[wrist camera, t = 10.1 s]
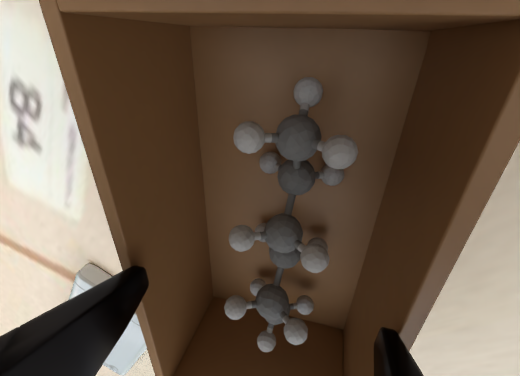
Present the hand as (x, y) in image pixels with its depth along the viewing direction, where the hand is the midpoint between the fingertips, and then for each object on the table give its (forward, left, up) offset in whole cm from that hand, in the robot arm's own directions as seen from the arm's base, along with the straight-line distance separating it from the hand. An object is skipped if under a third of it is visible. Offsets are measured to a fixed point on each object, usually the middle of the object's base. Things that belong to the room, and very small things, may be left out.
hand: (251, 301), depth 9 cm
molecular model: (0, 0, -6) cm, 6 cm away
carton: (0, 0, -6) cm, 6 cm away
